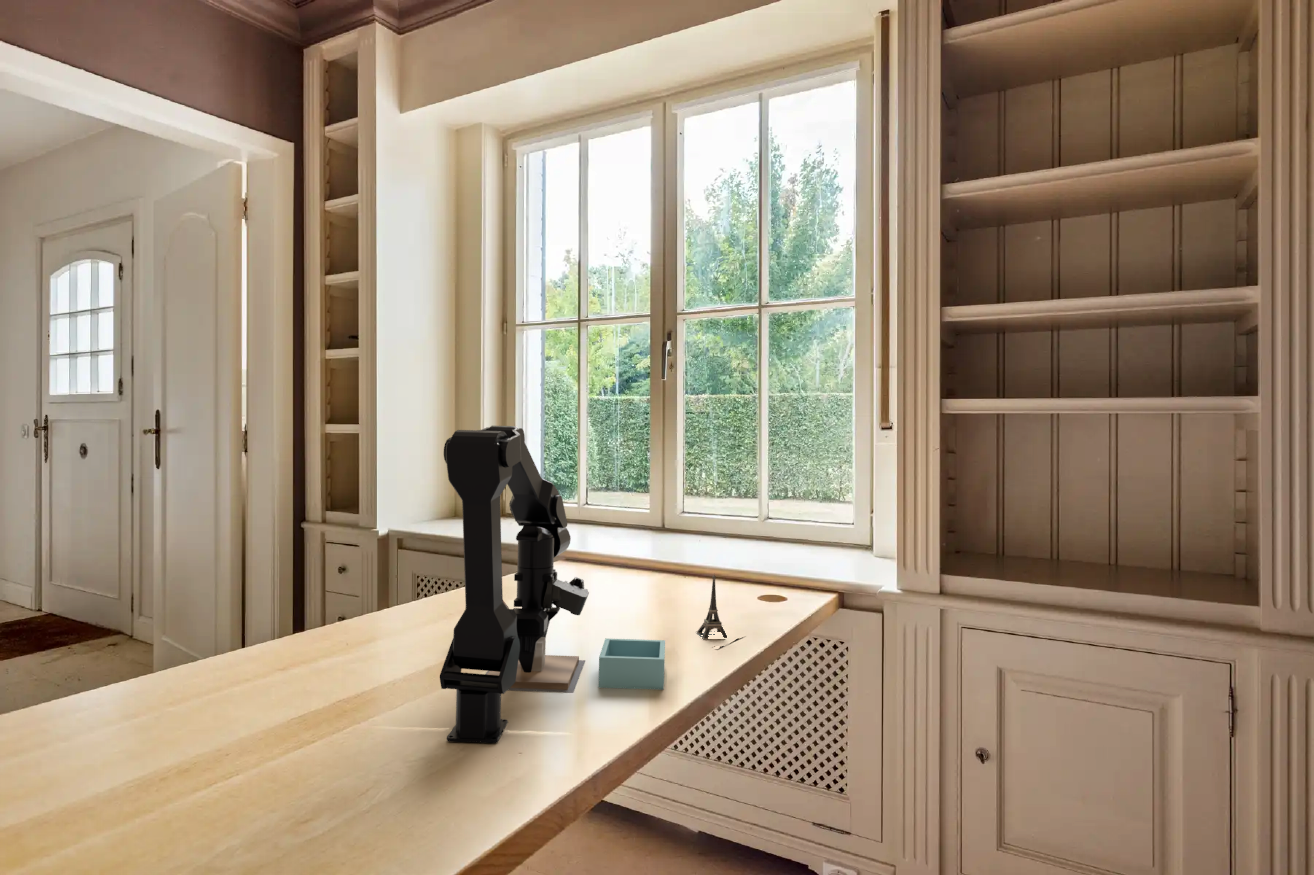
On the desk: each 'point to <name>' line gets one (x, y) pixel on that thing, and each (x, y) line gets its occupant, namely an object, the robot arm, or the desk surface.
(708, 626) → the eiffel tower figurine
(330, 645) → the desk surface
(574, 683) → the mat
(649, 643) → the dish
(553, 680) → the lid
